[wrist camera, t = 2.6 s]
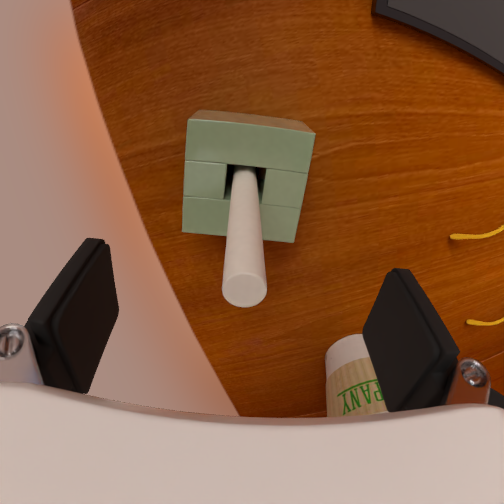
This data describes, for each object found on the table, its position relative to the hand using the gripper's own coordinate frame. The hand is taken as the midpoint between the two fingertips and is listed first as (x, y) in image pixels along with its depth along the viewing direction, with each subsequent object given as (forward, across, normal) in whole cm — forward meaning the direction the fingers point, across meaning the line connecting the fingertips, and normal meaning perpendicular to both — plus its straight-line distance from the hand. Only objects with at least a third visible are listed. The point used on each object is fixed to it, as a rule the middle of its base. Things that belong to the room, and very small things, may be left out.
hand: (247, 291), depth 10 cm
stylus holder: (+14, 0, 0) cm, 14 cm away
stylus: (+14, 0, 0) cm, 14 cm away
